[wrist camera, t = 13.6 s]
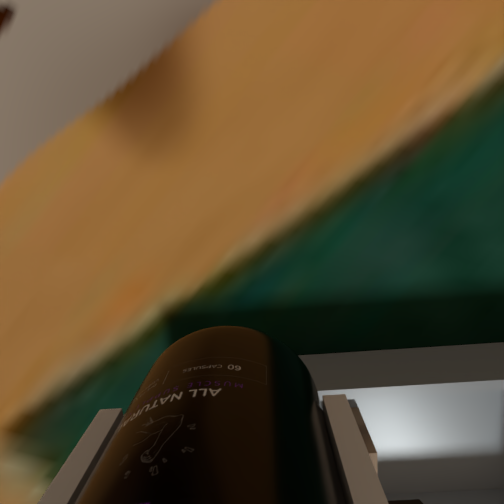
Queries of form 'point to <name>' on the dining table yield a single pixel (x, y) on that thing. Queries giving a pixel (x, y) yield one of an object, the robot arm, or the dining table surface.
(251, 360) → the supplement bottle
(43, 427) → the dining table surface
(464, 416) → the tote
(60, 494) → the robot arm
